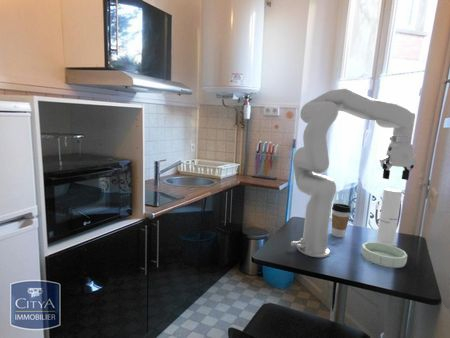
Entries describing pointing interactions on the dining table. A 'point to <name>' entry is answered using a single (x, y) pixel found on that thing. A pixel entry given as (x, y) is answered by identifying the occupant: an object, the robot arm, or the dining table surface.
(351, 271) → the dining table surface
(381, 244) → the dish
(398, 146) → the robot arm
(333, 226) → the coffee cup
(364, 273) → the dining table surface
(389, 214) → the cylindrical container
